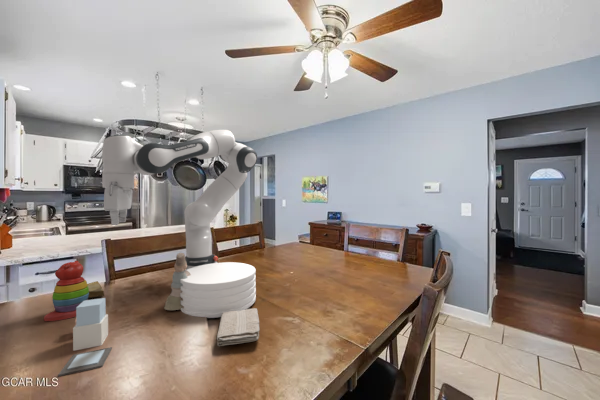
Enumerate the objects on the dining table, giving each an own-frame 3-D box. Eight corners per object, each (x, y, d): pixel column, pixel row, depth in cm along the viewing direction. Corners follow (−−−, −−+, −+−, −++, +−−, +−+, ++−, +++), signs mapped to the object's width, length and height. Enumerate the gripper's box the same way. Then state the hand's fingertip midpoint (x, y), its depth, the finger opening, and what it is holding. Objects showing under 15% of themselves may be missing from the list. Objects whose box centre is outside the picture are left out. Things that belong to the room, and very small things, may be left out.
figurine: (181, 312, 87) (180, 254, 87) (159, 310, 89) (158, 253, 88) (196, 302, 96) (195, 249, 95) (176, 300, 97) (175, 248, 97)
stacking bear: (67, 307, 93) (67, 258, 93) (97, 306, 94) (96, 258, 94) (39, 321, 82) (39, 266, 82) (73, 320, 83) (72, 265, 83)
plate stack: (175, 296, 103) (174, 268, 103) (241, 283, 118) (241, 259, 118) (185, 326, 80) (185, 289, 79) (267, 305, 94) (267, 274, 94)
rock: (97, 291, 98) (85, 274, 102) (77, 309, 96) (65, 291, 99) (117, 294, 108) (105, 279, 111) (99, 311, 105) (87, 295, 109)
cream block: (108, 334, 74) (107, 314, 74) (101, 345, 69) (101, 323, 69) (82, 339, 72) (82, 318, 72) (73, 350, 66) (73, 327, 66)
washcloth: (216, 348, 67) (215, 337, 67) (220, 318, 85) (220, 308, 85) (261, 342, 70) (261, 331, 70) (256, 314, 88) (256, 305, 88)
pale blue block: (105, 315, 73) (105, 297, 73) (99, 322, 69) (99, 304, 69) (83, 318, 71) (83, 300, 71) (76, 326, 67) (76, 307, 67)
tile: (111, 348, 67) (111, 345, 67) (102, 366, 60) (102, 363, 60) (73, 356, 64) (73, 353, 64) (58, 376, 56) (58, 373, 56)
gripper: (122, 181, 78) (122, 225, 78) (135, 184, 97) (135, 220, 97) (97, 180, 76) (97, 226, 76) (115, 184, 95) (115, 221, 95)
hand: (119, 223), depth 87 cm, fingers open, 8 cm apart
